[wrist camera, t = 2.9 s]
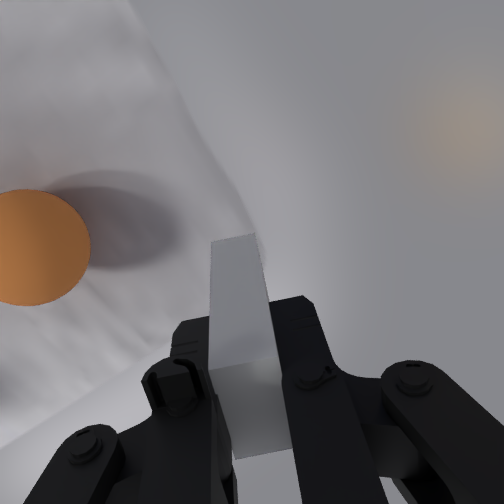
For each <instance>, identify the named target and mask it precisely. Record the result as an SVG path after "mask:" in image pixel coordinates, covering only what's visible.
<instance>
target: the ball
mask: <svg viewBox="0 0 504 504" xmlns="http://www.w3.org/2000/svg"><path fill="white" fill-rule="evenodd" d="M90 251H91V243H90V237H89V233H88V230H87V227H86V225H85V223H84V221H83V220H82V218H81V216H80V215H79V214H78V213H77V211H76V210H75V209H74V208H73V207H72V206H70V205H69V204H68V203H67V202H65V201H64V200H62V199H60V198H59V197H57V196H55V195H52V194H50V193H47V192H43V191H39V190H29V189H23V190H13V191H9V192H5V193H2V194H0V301H1V302H4V303H8V304H12V305H18V306H35V305H41V304H45V303H48V302H51V301H54V300H56V299H58V298H60V297H61V296H63V295H65V294H66V293H67V292H69V291H70V290H71V289H72V288H73V287H74V286H75V285H76V284H77V283H78V282H79V280H80V279H81V278H82V276H83V275H84V273H85V271H86V269H87V266H88V263H89V259H90Z"/></svg>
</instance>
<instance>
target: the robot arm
mask: <svg viewBox="0 0 504 504" xmlns="http://www.w3.org/2000/svg"><path fill="white" fill-rule="evenodd" d="M171 347H172V348H171V351H170V357H168V358H165V359H163V360H161V361H159V362H157V363H156V364H154V365H152V366H151V368H149V369H148V371H147V372H146V373H145V374H144V376H143V378H142V380H141V383H142V385H143V388H144V391H145V393H146V396H147V398H148V401H149V403H150V406H151V409H152V415H151V416H150V417H149V418H148V419H146V420H145V421H143V422H141V423H140V424H138V425H136V426H134V427H132V428H130V429H127V430H125V431H123V432H121V433H119V434H117V433H116V431H115V430H114V429H113V428H111V427H110V426H108V425H103V424H97V425H91V426H87V427H85V428H83V429H81V430H78V431H76V432H75V433H74V434H72V435H71V436H70V437H68V438H67V439H66V440H65V441H64V442H63V444H61V446H60V447H59V448H58V449H57V451H56V453H55V454H54V456H53V457H52V459H51V460H50V462H49V463H48V465H47V467H46V468H45V470H44V472H43V473H42V475H41V476H40V478H39V479H38V481H37V482H36V484H35V486H34V487H33V489H32V491H31V492H30V494H29V495H28V497H27V498H26V500H25V501H24V503H23V504H238V493H237V479H236V475H235V472H234V469H233V465H232V450H233V454H234V457H235V459H241V458H246V457H251V456H256V455H261V454H266V453H271V452H277V451H282V450H286V449H292V448H293V453H294V459H295V464H296V470H297V475H298V481H299V487H300V492H301V498H302V504H389V503H388V500H387V497H386V495H385V492H384V489H383V486H382V483H381V481H380V478H379V476H380V477H390V478H392V481H393V483H394V484H395V486H396V487H397V489H398V490H399V491H400V493H401V494H402V496H403V497H404V499H405V500H406V501H407V503H408V504H504V426H503V425H502V424H501V423H500V422H499V421H498V420H496V419H495V418H494V417H493V416H492V415H491V414H490V413H489V412H488V411H486V410H485V409H484V408H483V407H482V406H481V405H480V404H479V403H478V402H477V401H475V400H474V399H473V398H472V397H471V396H470V395H469V394H468V393H466V391H464V390H463V389H462V388H461V387H460V386H459V385H458V384H457V383H456V382H454V381H453V380H452V379H451V378H450V377H449V376H448V375H447V374H446V373H445V372H443V371H442V370H441V369H439V368H438V367H436V366H434V365H433V364H430V363H426V362H423V361H415V360H414V361H413V360H407V361H402V362H398V363H395V364H393V365H391V366H390V367H388V368H386V370H385V371H384V373H383V374H382V376H381V378H364V377H357V376H354V375H350V374H348V373H346V372H344V371H342V370H341V369H340V368H339V367H338V366H337V365H336V364H335V362H334V360H333V358H332V355H331V352H330V350H329V347H328V344H327V341H326V338H325V335H324V332H323V330H322V327H321V324H320V321H319V318H318V316H317V313H316V310H315V307H314V304H313V303H312V302H311V301H309V300H308V299H307V298H305V297H304V296H303V295H302V296H297V297H292V298H287V299H282V300H278V301H273V302H269V298H268V293H267V288H266V284H265V279H264V274H263V269H262V265H261V260H260V255H259V250H258V246H257V241H256V236H255V233H253V234H248V235H243V236H239V237H234V238H229V239H224V240H220V241H215V242H211V272H210V315H209V316H206V317H201V318H196V319H191V320H186V321H182V322H181V323H180V324H179V326H178V327H177V329H176V330H175V331H174V333H173V337H172V344H171Z"/></svg>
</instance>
